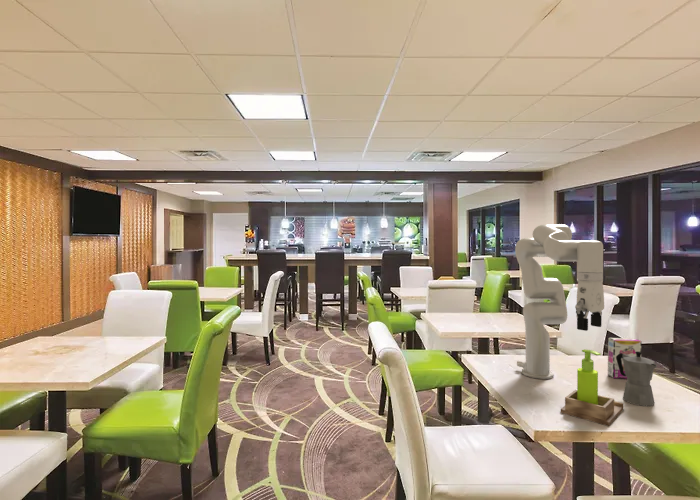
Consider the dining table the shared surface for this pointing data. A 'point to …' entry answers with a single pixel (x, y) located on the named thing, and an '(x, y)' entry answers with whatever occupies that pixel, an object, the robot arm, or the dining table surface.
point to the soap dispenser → (587, 379)
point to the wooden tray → (593, 409)
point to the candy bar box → (620, 346)
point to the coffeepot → (637, 378)
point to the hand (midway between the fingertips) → (589, 328)
